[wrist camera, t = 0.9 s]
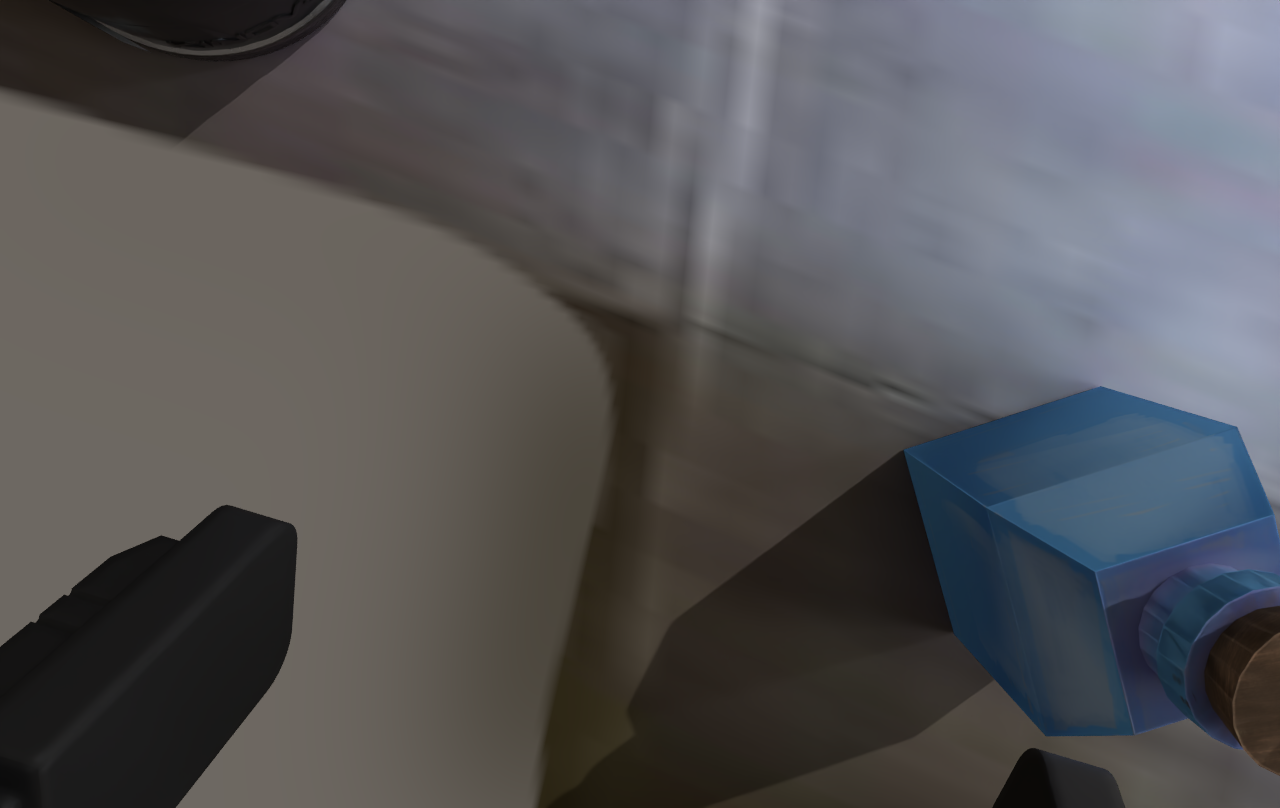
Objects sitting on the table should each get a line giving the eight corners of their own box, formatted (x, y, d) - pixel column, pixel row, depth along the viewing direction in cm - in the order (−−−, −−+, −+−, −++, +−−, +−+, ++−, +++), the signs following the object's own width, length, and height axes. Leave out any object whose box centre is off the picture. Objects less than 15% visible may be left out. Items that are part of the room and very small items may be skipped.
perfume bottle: (1100, 386, 29) (1453, 491, 17) (1144, 573, 30) (1504, 795, 18) (903, 449, 29) (1118, 598, 17) (954, 634, 30) (1188, 894, 18)
